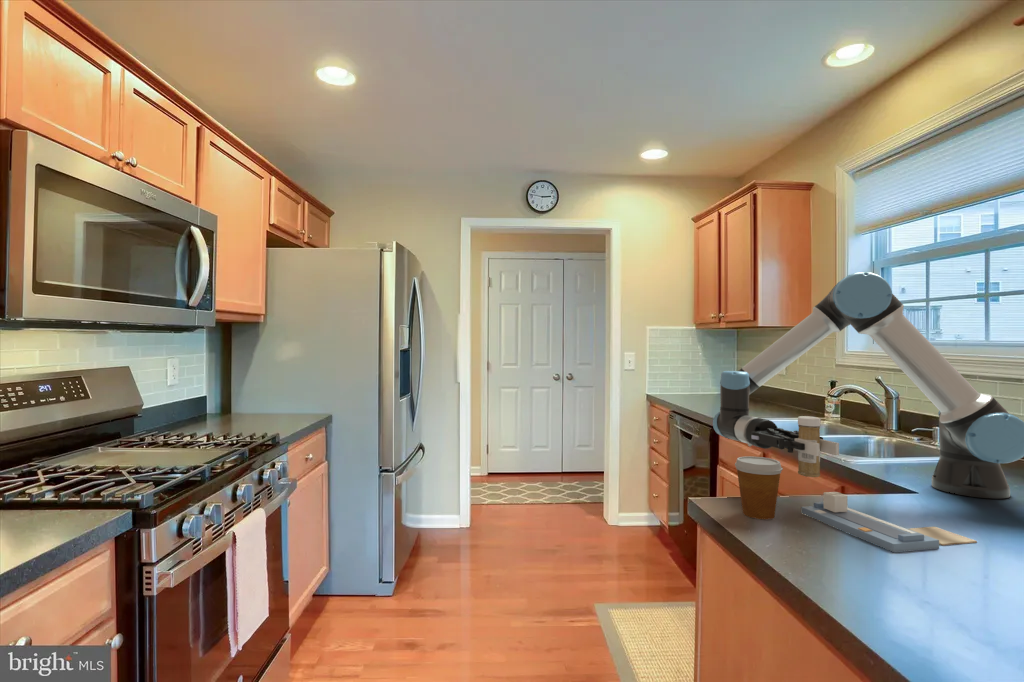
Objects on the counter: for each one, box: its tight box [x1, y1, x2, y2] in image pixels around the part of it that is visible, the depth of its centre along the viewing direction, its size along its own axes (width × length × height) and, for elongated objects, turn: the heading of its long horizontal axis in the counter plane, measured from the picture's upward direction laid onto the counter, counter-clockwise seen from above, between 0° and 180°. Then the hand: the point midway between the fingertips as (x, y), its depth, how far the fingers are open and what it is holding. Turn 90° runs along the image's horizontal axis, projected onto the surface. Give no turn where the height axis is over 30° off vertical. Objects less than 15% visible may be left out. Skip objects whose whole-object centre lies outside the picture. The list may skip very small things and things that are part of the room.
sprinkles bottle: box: [797, 415, 822, 478], centre depth 117 cm, size 5×5×13 cm
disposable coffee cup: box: [734, 456, 783, 520], centre depth 112 cm, size 10×10×12 cm
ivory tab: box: [822, 491, 849, 512], centre depth 110 cm, size 3×3×4 cm
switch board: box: [800, 501, 940, 553], centre depth 103 cm, size 10×22×2 cm, turn 11°
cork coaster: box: [908, 526, 978, 546], centre depth 99 cm, size 8×8×1 cm
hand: (827, 449), depth 112 cm, fingers closed on sprinkles bottle, 4 cm apart
